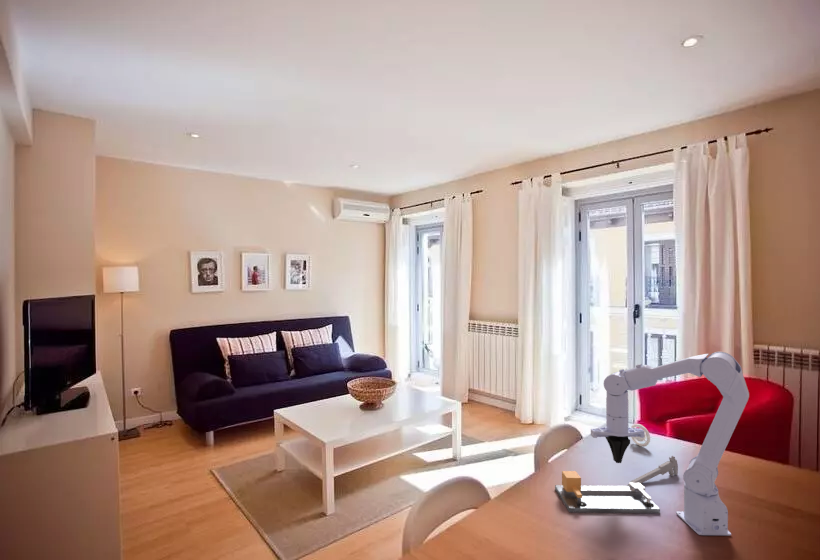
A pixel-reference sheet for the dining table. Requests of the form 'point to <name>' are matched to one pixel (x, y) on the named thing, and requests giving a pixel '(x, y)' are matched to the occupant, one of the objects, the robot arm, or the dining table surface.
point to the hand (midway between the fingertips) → (617, 461)
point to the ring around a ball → (635, 439)
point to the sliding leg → (572, 483)
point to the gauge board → (609, 499)
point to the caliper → (659, 471)
